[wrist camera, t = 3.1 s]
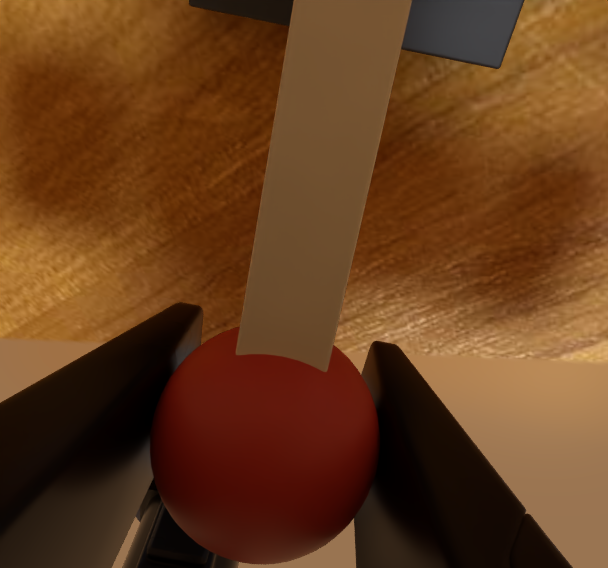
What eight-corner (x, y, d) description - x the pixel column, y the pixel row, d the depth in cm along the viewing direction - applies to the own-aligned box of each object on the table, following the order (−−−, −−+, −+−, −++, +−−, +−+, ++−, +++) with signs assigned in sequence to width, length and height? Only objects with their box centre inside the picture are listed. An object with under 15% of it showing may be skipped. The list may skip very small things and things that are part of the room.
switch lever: (347, 474, 8) (360, 649, 5) (177, 441, 8) (98, 600, 5) (594, -480, 5) (967, -1339, 2) (309, -545, 5) (289, -1525, 2)
